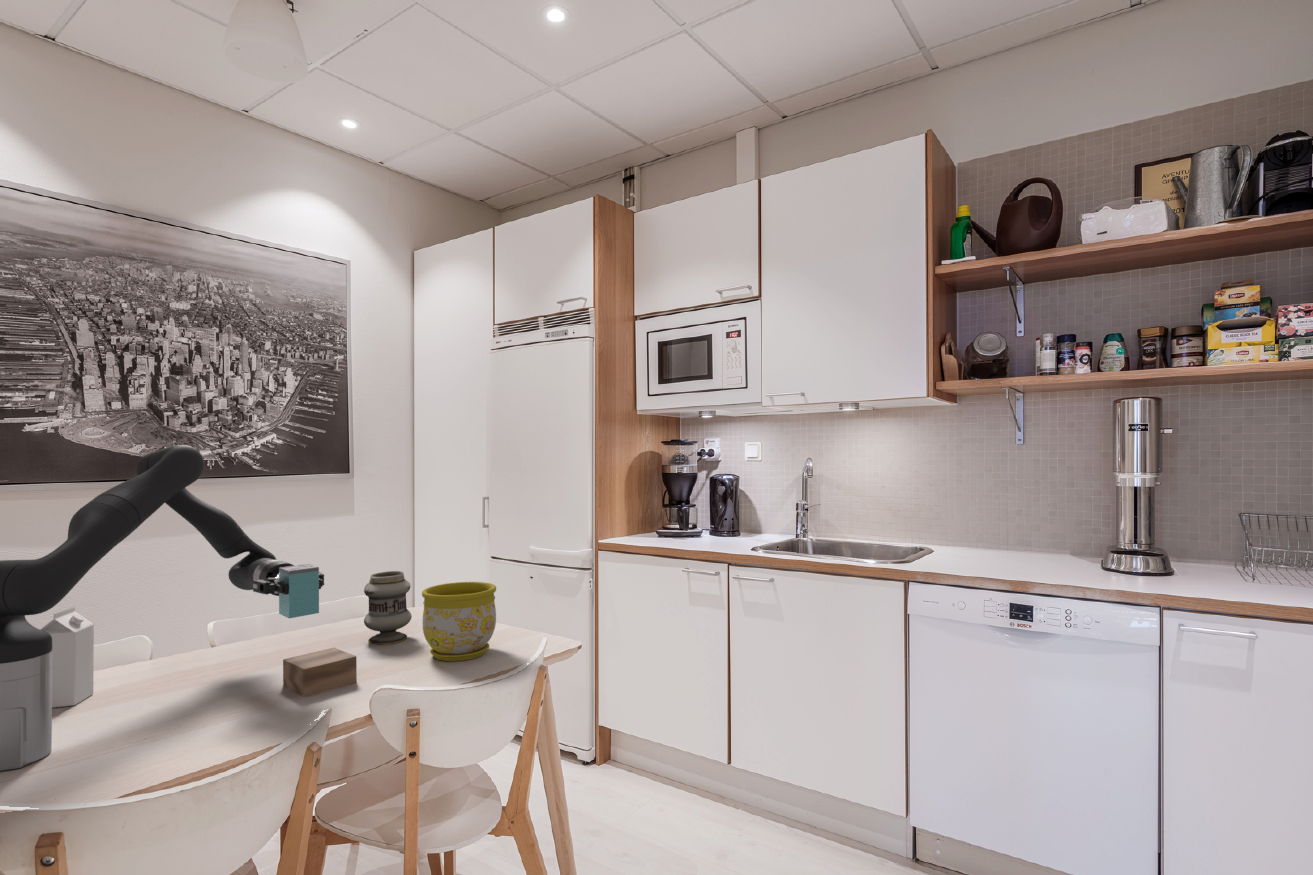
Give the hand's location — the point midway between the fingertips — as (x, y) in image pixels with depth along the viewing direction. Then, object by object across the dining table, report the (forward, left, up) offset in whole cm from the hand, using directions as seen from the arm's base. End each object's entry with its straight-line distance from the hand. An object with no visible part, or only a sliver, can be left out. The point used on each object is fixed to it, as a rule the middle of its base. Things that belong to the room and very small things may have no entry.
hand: (303, 586), depth 143 cm
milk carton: (+11, +46, -22) cm, 52 cm away
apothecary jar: (+36, -15, -22) cm, 45 cm away
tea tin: (+2, +1, -6) cm, 7 cm away
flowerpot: (+15, -33, -22) cm, 42 cm away
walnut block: (+3, -3, -22) cm, 23 cm away
